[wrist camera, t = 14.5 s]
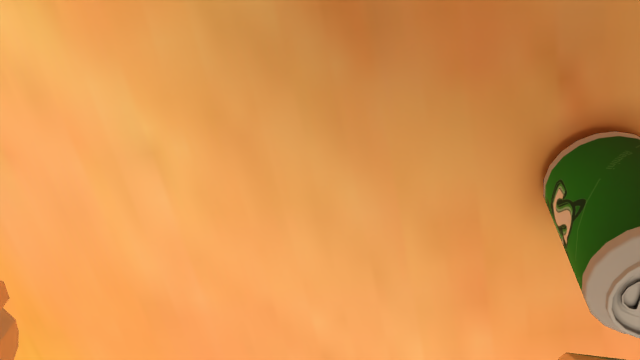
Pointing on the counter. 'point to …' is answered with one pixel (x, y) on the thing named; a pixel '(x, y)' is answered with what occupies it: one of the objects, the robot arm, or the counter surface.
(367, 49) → the counter surface
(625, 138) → the soda can
